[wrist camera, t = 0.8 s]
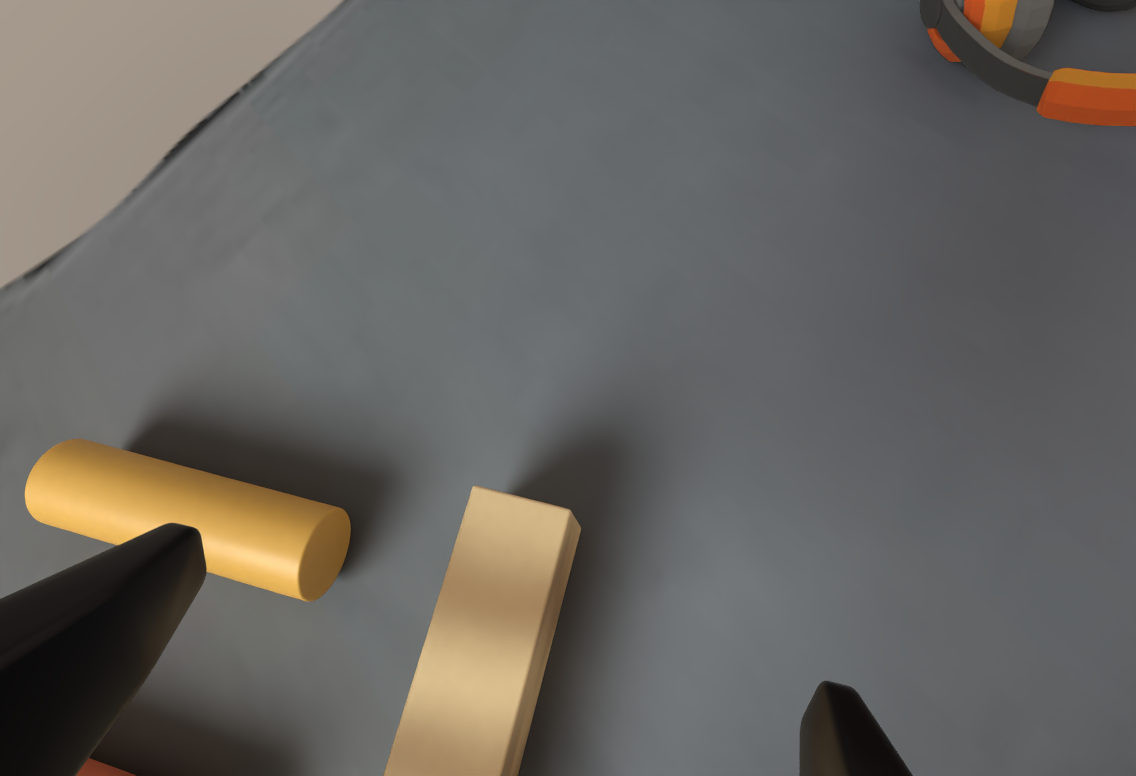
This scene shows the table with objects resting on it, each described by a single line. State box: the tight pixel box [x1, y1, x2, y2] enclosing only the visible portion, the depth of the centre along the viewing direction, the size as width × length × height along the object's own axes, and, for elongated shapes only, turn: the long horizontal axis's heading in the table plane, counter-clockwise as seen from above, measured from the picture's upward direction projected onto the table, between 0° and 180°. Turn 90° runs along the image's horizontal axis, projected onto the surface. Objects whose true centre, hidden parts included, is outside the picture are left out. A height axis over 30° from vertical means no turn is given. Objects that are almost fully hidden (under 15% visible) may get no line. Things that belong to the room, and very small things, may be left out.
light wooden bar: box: [383, 486, 581, 776], centre depth 20 cm, size 15×3×4 cm, turn 165°
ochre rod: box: [25, 439, 351, 601], centre depth 23 cm, size 3×10×3 cm, turn 75°
